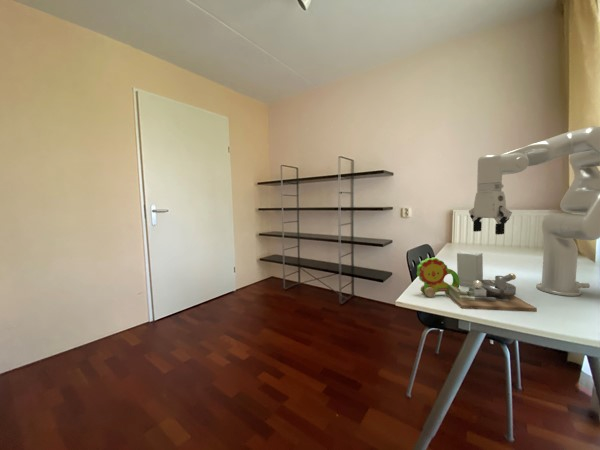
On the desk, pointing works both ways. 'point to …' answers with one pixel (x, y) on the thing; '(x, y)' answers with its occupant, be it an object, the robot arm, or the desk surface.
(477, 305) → the stand
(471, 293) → the block with glass ball
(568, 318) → the desk surface
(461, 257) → the skincare box
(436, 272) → the toy lion
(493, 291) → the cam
